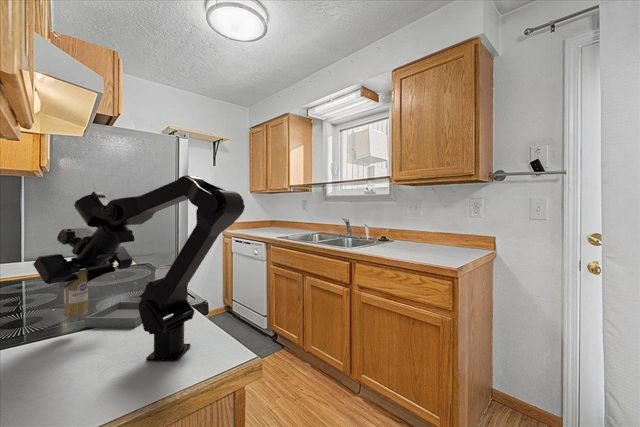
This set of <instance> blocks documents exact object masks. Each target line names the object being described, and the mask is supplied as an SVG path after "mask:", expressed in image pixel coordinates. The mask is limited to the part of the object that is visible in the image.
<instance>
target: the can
mask: <svg viewBox="0 0 640 427" xmlns="http://www.w3.org/2000/svg"><path fill="white" fill-rule="evenodd" d="M171 266H172V264H160V265H158V266H156V269H155V271H154V280H157V279H161V278H164V277H165V276H166V274H167V272H168V271H169V269H170V267H171Z"/></svg>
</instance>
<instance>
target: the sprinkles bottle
mask: <svg viewBox="0 0 640 427" xmlns="http://www.w3.org/2000/svg"><path fill="white" fill-rule="evenodd" d="M66 260H67V261H72V260H71V258H70V259H66ZM76 275H77V276H78V278H79V279H78V280H77V281H75V282H73V283H72V284H70V285H69V286H67V287H66V288H64V289H63V304H64V309H63V310H64V313H63V317H65V318H69V319H70V318H72V319H73V318H77V317H81V316H84V315H86V314H87V313H88V312H89V309H88V299H89V297H88V296H89V294H88V292H89V290H88V287H89V286H88V283H87V270H86V269H83V270H80V271H79V272H78V273H77V274H76Z"/></svg>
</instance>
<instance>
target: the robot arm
mask: <svg viewBox="0 0 640 427" xmlns="http://www.w3.org/2000/svg"><path fill="white" fill-rule="evenodd" d="M184 201H189V203H191V204H192V205H193V206H195V207H197V208H196V212H195V215H196V217H195V218H196V224H195V227H194V228H193V230H192V231H191V233H190V234H189V236H188V237H187V240H186V241H185V243H184V245H183V246H182V247H181V249H180V251H179V253H178V254H177V256H176V258H175V259H174V261H173V262H172V264H171V265H172V266H171V267H170V269H169V271H168V272H167V274H166V276H165V277H164V278H161V279H157V280H155V279H153V280H151V281H149V282H148V283H147V284H146V286H145V288H144V290H143V292H142V293H141V294H140V295H139V298H141V299H140V300H139V301H138V302H139V313H140V317H141V320H142V324H141V325H142V327H143V330H144V331H145V332H148V335H153V351H152V352H151V353H150V354H149V355H148V356H146V357H145V359H146V361H159V362H160V361H162V362H163V361H165V362H167V361H172V362H174V361H175V362H176V361H179V360H180V358H181V357H182V356H183V355H184V354H185V353H186V352H187V351H188V350H189V349H190V348H191V343H185V323H186V322H187V321H189V320H190V321H191V320H192V319H193V317H194V315H195V309H194V308H193V307H192V305H191V303H189V301H188V300H187V298H188V294H189V293H188V285H189V283H190V282H191V280H192V278H193V277H194V275H195V274H196V272H197V271H198V268H199V267H200V266H201V264H202V263H203V261H204V259H205V258H206V256H207V254H208V253H209V252H210V250H211V248H212V246H213V245H214V244H215V241H216V240H217V239H218V237H219V236H220V235H221V233H222V232H224V231H225V230H227V229H228V228H229V227H231V226H232V225H233V224H234V223H235V222H236V221H237V220H238V219H239V218H240V216H242V214H243V212H244V210H245V201H244V199H243V196H242V195H241V194H240V193H239V192H237V191H232V190H226V189H224V188H221V187H220V186H217V185H215V184H213V183H210V182H208V181H207V180H205V179H204V178H202V177H199V176H193V175H187V174H186V175H182V176H181V177H179V178H178V179H176V180H173V181H171V182H169V183H166V184H164V185H161V186H160V187H158V188H154V189H151V190H150V191H148V192H145V193H144V194H141V195H136V196H128V197H120V198H115V199H111V200H110V201H109V200H108V199H107V197H106V195H105V194H104V192H103V191H92V192H91V193H90V194H88V195H87V194H86V195H84V196H82V197H80V198H79V199H77V200H76V201H75V202H74V205H73V206H74V209H75V210H76V211H77V213H78V214H79V216H80V217H81V218H82V220H83V221H84V223H85V224H86V225H87V227H90V228H96V229H95V231H93V230H92V229H90V228H86V227H81V228H80V227H77V228H63V229H61V230H60V232H58V235H57V237H56V239H57V242H59V243H61V244H62V245H65V246H67V245H69V246H70V247H71V248H72V250H71V253H72V254H73V255H74V256H76V257H74V256H73V257H71V258H70V259H71V260H72V261H67V260H68V259H65V257H64V255H63V254H61V253H55V254H48V255H47V254H45V255H39V256H38V257H37V259H36V260H35V261H34V262H33V264H32V265H33V267H34V268H35V270H36V272H37V273H38V275H39V276H40V278H41V279H42V281H43V283H45V284H47V285H53V284H56V283H58V287H59V289H60V290H64V288H66V287H67V286H69V285H70V284H72V283H73V282H75V281H77V280H78V279H79V278H78V276H77V275H76V274H77V273H78V272H79V271H80V270H83V269H86V270H87V284H88V283H90V282H93V281H94V280H97V279H99V278H101V277H104V276H106V275H108V274H112V273H114V272H116V268H115V267H114V266H115V262H116V263H117V265H116V267H117V269H118V270H124V269H129V268H130V266H131V265H132V264H133V257H132V256H131V255H130V254H129V253H128V251H127V250H126V248H125V246H123V245H122V246H121V244H124V243H131V242H135V236H134V233H133V232H134V231H133V230H132V229H130V228H129V227H128V226H137V225H143V224H144V223H145V224H146V222H148V221H149V220H151V219H152V218H153V217H154V215H155V214H156V213H157V212H159V211H162V210H165V209H167V208H169V207H171V206H174V205H177V204H179V203H182V202H184Z"/></svg>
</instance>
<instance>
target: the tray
mask: <svg viewBox="0 0 640 427" xmlns="http://www.w3.org/2000/svg"><path fill="white" fill-rule="evenodd" d="M139 302H140V301H117V302H116V303H114V304H111V305H109V306H107V307H105V308H102V309H100V310H98V311H96V312H94V313H92V314H90V315H88V316H85V317H84V328H97V329H98V328H99V329H100V328H108V329H109V328H110V329H111V328H113V329H114V328H115V329H116V328H118V329H120V328H121V329H123V328H126V329H132V328H135V329H136V328H137V327H138V326H140V325H143V324H142V320H141V317H140V313H139Z"/></svg>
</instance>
